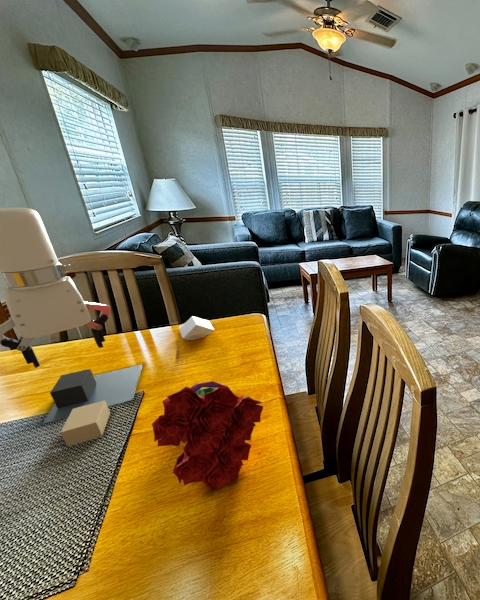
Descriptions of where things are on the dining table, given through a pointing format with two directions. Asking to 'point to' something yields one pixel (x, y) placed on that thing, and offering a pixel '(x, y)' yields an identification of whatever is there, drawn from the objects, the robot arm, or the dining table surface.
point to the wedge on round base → (195, 328)
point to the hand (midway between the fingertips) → (70, 354)
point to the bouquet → (208, 432)
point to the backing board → (104, 391)
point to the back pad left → (73, 388)
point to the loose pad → (85, 423)
